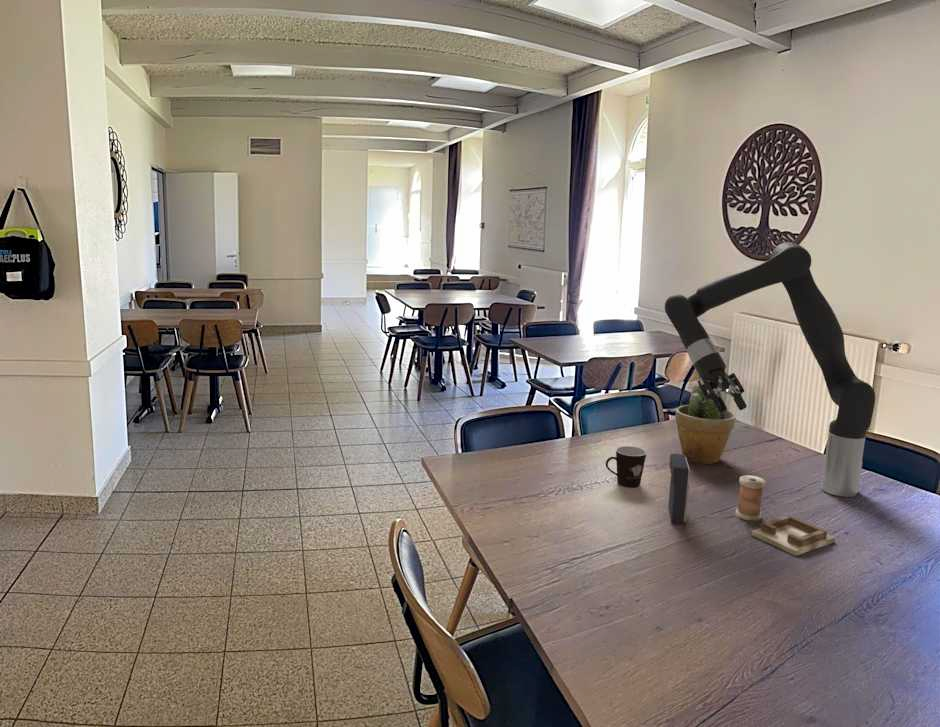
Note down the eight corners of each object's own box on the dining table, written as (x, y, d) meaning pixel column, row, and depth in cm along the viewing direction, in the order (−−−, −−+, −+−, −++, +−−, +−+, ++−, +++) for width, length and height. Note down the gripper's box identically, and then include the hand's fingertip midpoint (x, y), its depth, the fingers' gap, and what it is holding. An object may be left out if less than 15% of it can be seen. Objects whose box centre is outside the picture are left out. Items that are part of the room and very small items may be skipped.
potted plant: (659, 452, 229) (665, 379, 224) (702, 446, 237) (709, 374, 231) (699, 471, 213) (706, 392, 207) (744, 463, 220) (752, 387, 215)
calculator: (686, 525, 175) (692, 469, 172) (668, 523, 176) (674, 467, 173) (682, 507, 185) (687, 454, 182) (665, 506, 186) (670, 453, 183)
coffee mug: (641, 479, 205) (644, 447, 203) (645, 490, 197) (648, 456, 195) (601, 476, 206) (604, 444, 204) (604, 487, 198) (606, 454, 196)
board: (790, 522, 178) (791, 511, 177) (834, 542, 168) (836, 530, 167) (751, 535, 170) (752, 523, 170) (795, 555, 160) (797, 544, 160)
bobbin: (746, 509, 186) (750, 473, 183) (766, 517, 180) (770, 481, 178) (730, 513, 183) (734, 477, 180) (750, 522, 177) (754, 485, 175)
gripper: (699, 352, 185) (728, 406, 179) (731, 350, 193) (760, 401, 187) (679, 366, 190) (707, 419, 184) (712, 364, 198) (739, 414, 192)
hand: (734, 410), depth 185 cm, fingers open, 8 cm apart
